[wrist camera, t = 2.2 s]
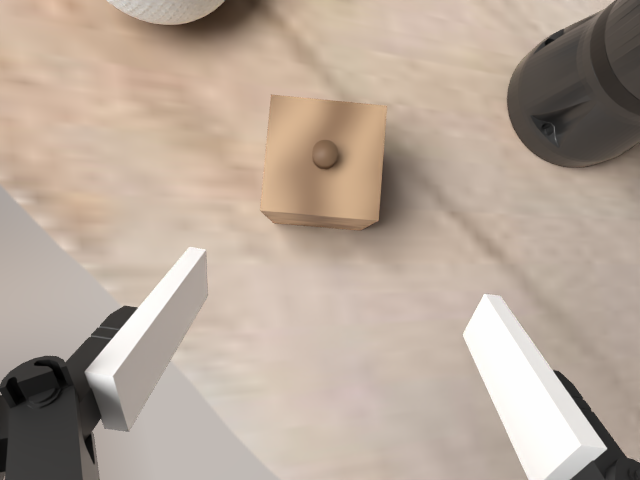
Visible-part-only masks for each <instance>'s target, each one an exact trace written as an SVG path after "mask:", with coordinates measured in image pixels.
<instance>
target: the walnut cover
mask: <svg viewBox="0 0 640 480" xmlns="http://www.w3.org/2000/svg"><path fill="white" fill-rule="evenodd" d="M386 113H387V106H382V105H372V104H362V103H352V102H341V101H331V100H321V99H311V98H301V97H290V96H280V95H271V101H270V111H269V122H268V132H267V143H266V153H265V163H264V174H263V184H262V195H261V205H260V211H261V212H262V213H263V214H264V215H265V216H267V217H268V218H269V219H270V220H271V221H272V222H273V223H280V224H291V225H303V226H314V227H326V228H337V229H349V230H362V229H364V228H366V227H368V226H370V225H372V224H374V223H375V222H377V221H379V208H380V195H381V181H382V167H383V154H384V140H385V127H386Z"/></svg>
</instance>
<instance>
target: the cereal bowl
mask: <svg viewBox="0 0 640 480" xmlns="http://www.w3.org/2000/svg"><path fill="white" fill-rule="evenodd" d="M107 1H108V2H109V3H110V4H112V5H113V6H115V7H116V8H117V9H119V10H121V11H122V12H124V13H125V14H128V15H130V16H131V17H135V18H137V19H139V20H143V21H146V22H149V23H154V24H162V25H163V24H164V25H175V24H176V25H177V24H183V23H187V22H191V21H195V20H198V19H199V18H202V17H204V16H206V15H207V14H209V13H211V12H213V11H214V10H215V9H217V8H218V6H220V5H221V4H222V3H223V2H224V1H225V0H107Z"/></svg>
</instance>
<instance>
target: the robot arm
mask: <svg viewBox="0 0 640 480" xmlns="http://www.w3.org/2000/svg"><path fill="white" fill-rule="evenodd" d="M507 102H508V111H509V116H510V119H511V122H512V125H513V127H514V129H515V131H516V133H517V134H518V136H519V138H520V139H521V140H522V142H523V143H524V144H525V145H526V146H527V147H528V148H529V149H530V150H531V151H532V152H533V153H535V154H536V155H538V156H539V157H541V158H542V159H544V160H546V161H548V162H551V163H553V164H556V165H560V166H565V167H586V166H590V165H594V164H597V163H600V162H603V161H606V160H609V159H612V158H615V157H617V156H619V155H621V154H623V153H625V152H626V151H628V150H630V149H631V148H632V147H633V146H634V145H636V144H637V143H638V142H640V0H615V1H614V2H613V3H612V4H610V5H609V6H608V7H607V8H605V9H604V10H602V11H600V12H597V13H595V14H593V15H591V16H589V17H587V18H585V19H583V20H581V21H579V22H577V23H574V24H572V25H570V26H568V27H566V28H565V29H562V30H560V31H558V32H556V33H554V34H552V35H550V36H549V37H547V38H546V39H544V40H543V41H542V42H540V43H539V44H538V45H537V46H536V47H535V48H534V49H533V50H532V51H531V52H529V53H528V54H527V55H526V56H525V57H524V58H523V59H522V61H521V62H520V63H519V64H518V66H517V67H516V69H515V71H514V73H513V75H512V77H511V80H510V84H509V88H508V96H507ZM207 296H208V284H207V260H206V249H199V248H193V247H189V248H188V249H187V250H186V252H185V253H184V254H183V255H182V256H181V258H180V259H179V260H178V261H177V262H176V264H175V265H174V266H173V267H172V268H171V269H170V271H169V272H168V273H167V274H166V275H165V277H164V278H163V279H162V280H161V281H160V283H159V284H158V285H157V286H156V287H155V289H154V290H153V291H152V292H151V293H150V294H149V296H148V297H147V298H146V299H145V300H144V302H143V303H142V304H141V305H140V306H139V308H137V307H130V306H123V307H122V308H120V309H119V310H117V311H115V312H113V313H112V314H110V315H109V316H108V317H107V318H106V319H105V321H104V322H103V323H102V324H101V325H100V327H99V328H97V329H96V330H95V331H94V332H93V333H92V334H91V337H89V338H88V339H87V340H86V341H85V342H84V343H83V344H82V345H81V346H80V347H79V349H78V350H77V351H76V352H75V353H74V354H73V355H72V356H71V357H70V358H69V359H68V360H67V361H66V362H64V360H63V359H61V358H59V357H57V356H43V357H39V358H34V359H32V360H29V361H27V362H25V363H22V364H21V365H19V366H18V367H16V368H15V369H13V370H12V371H10V372H9V374H7V376H6V377H5V378H4V379H3V380H2V382H1V384H0V392H1V394H2V395H0V480H3V478H4V476H5V480H100V479H99V471H98V463H97V456H96V448H95V440H94V434H93V432H92V430H93V429H94V428H95V426H96V425H97V423H98V422H99V420H100V419H101V420H102V423H103V425H104V428H105V429H112V430H119V431H126V432H129V431H130V429H131V427H132V425H133V424H134V422H135V420H136V419H137V417H138V415H139V414H140V412H141V410H142V408H143V407H144V405H145V403H146V401H147V400H148V398H149V396H150V395H151V393H152V391H153V390H154V388H155V386H156V384H157V383H158V381H159V379H160V377H161V376H162V374H163V372H164V370H165V369H166V367H167V365H168V364H169V362H170V360H171V359H172V357H173V355H174V353H175V352H176V350H177V348H178V346H179V345H180V343H181V341H182V340H183V338H184V336H185V334H186V333H187V331H188V329H189V327H190V326H191V324H192V322H193V321H194V319H195V317H196V315H197V314H198V312H199V310H200V309H201V307H202V305H203V303H204V302H205V300H206V298H207ZM463 337H464V339H465V342H466V344H467V346H468V348H469V350H470V353H471V355H472V357H473V359H474V361H475V364H476V366H477V368H478V370H479V372H480V375H481V377H482V379H483V381H484V383H485V385H486V388H487V390H488V392H489V394H490V396H491V399H492V401H493V403H494V405H495V407H496V410H497V412H498V414H499V416H500V418H501V421H502V423H503V425H504V427H505V429H506V432H507V434H508V436H509V438H510V440H511V443H512V445H513V447H514V449H515V451H516V454H517V456H518V458H519V460H520V462H521V465H522V467H523V469H524V471H525V473H526V475H527V478H528V480H640V463H639V462H637V461H635V460H633V459H629V458H627V457H626V456H625V454H624V453H623V452H622V450H621V449H620V448H619V446H618V445H617V444H616V442H615V441H614V439H613V438H612V437H611V435H610V434H609V433H608V431H607V430H606V429H605V427H604V426H603V424H602V423H601V422H600V420H599V419H598V418H597V416H596V415H595V414H594V412H592V411H591V408H590V407H589V405H588V404H587V403H586V401H585V400H583V397H582V396H581V394H580V393H579V392H578V390H577V389H576V388H575V386H574V385H573V384H572V383H571V382H570V381H569V380H568V379H567V378H566V377H565V376H564V375H562V374H561V373H560V372H559V371H555V370H552V369H551V367H550V366H549V365H548V363H547V362H546V360H545V359H544V357H543V356H542V355H541V353H540V352H539V350H538V349H537V347H536V346H535V345H534V343H533V342H532V340H531V339H530V337H529V336H528V335H527V333H526V332H525V330H524V329H523V327H522V326H521V325H520V323H519V322H518V320H517V319H516V317H515V316H514V315H513V313H512V312H511V310H510V309H509V307H508V306H507V305H506V303H505V302H504V300H503V299H502V297H501V296H497V295H491V294H484V296H483V297H482V299H481V301H480V303H479V305H478V307H477V309H476V311H475V312H474V314H473V316H472V318H471V320H470V322H469V324H468V325H467V327H466V329H465V331H464V333H463Z"/></svg>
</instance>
